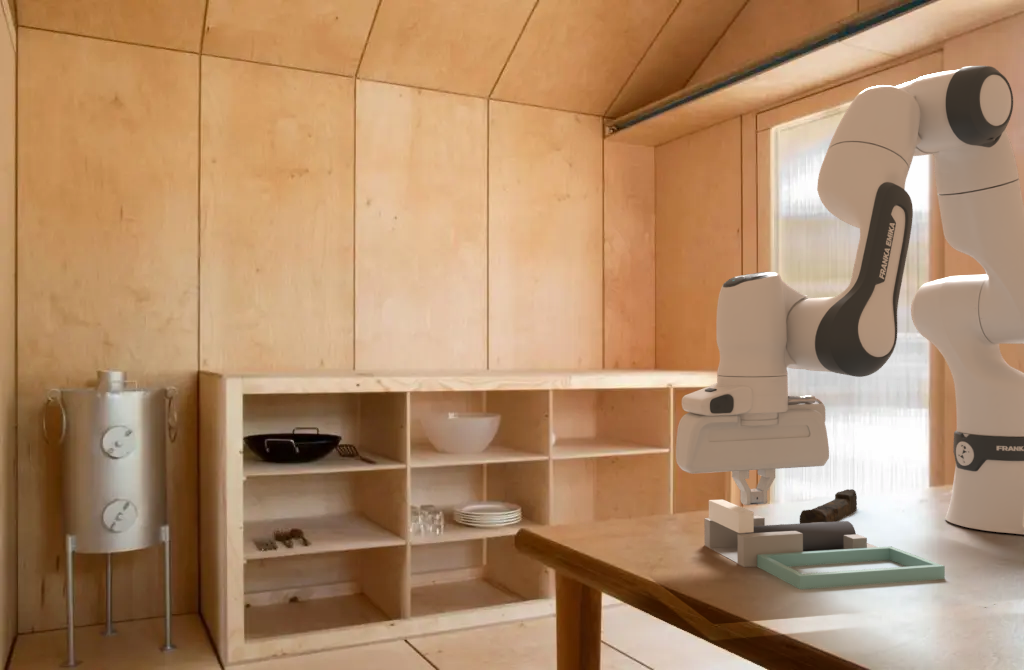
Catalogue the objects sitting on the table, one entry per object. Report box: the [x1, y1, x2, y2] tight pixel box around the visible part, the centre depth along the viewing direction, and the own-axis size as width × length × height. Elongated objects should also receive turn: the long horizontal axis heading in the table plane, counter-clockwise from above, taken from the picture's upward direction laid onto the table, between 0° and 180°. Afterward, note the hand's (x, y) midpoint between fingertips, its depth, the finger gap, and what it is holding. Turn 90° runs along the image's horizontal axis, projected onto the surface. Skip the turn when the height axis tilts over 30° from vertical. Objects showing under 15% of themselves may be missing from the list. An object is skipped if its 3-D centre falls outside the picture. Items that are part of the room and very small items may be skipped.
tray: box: [756, 545, 946, 590], centre depth 102 cm, size 19×10×3 cm, turn 103°
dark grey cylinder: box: [745, 520, 857, 551], centre depth 112 cm, size 14×4×4 cm, turn 102°
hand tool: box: [799, 488, 858, 524], centre depth 134 cm, size 19×4×5 cm, turn 138°
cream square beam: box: [708, 499, 755, 533], centre depth 110 cm, size 2×8×2 cm, turn 12°
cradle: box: [703, 515, 877, 568], centre depth 112 cm, size 22×11×5 cm, turn 102°
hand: (753, 503), depth 111 cm, fingers closed
